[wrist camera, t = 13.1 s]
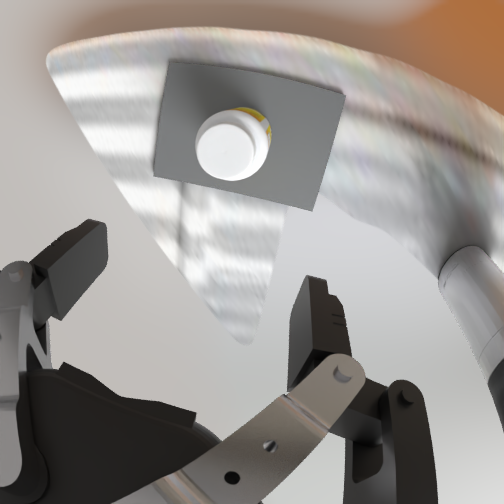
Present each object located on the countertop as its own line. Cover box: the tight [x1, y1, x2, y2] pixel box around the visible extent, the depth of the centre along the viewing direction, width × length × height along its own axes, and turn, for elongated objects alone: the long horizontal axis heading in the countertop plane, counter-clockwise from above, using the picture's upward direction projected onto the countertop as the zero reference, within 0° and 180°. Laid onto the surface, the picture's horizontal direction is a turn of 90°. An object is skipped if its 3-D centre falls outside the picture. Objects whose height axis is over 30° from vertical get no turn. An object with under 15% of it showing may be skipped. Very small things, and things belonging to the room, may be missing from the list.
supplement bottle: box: [195, 107, 272, 181], centre depth 23 cm, size 6×6×10 cm
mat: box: [153, 62, 346, 211], centre depth 27 cm, size 18×13×1 cm
